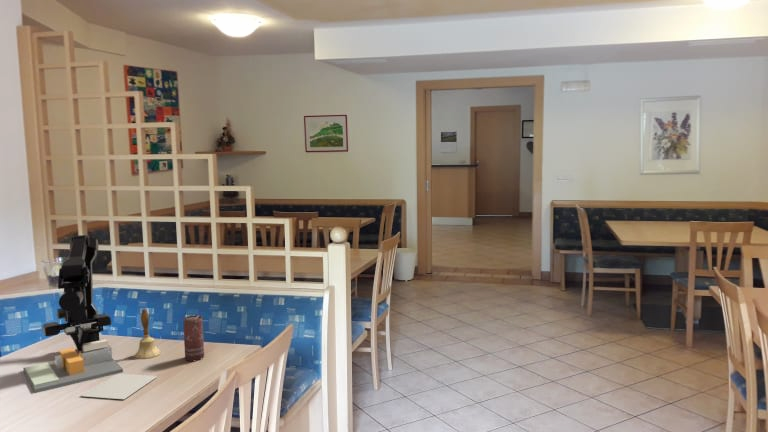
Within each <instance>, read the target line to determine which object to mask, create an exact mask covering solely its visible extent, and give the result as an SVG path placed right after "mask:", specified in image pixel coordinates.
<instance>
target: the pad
mask: <svg viewBox="0 0 768 432" xmlns="http://www.w3.org/2000/svg"><path fill="white" fill-rule="evenodd" d="M25 370H26V371H27V373H28V375H29V377H30V379H31V380H32V382H33V384H34V386H37V385H41V384H45V383H50V382H54V381H58V380H59V378H58V377H57V375H56V374H55V373H54V371H53V370H52V368H51V367H50V365H49V364H48V362H44V363H43V362H42V363H39V365H38V364H34V365H29V366H25Z"/></svg>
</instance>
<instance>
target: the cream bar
mask: <svg viewBox="0 0 768 432" xmlns="http://www.w3.org/2000/svg"><path fill="white" fill-rule="evenodd" d="M108 345H109V344H108V340H107V339H101V340H100V341H95V342H90V343H85V344H83V346H82V348H83V351H84V352H85V351H90V350H95V349H99V348H104V347H108Z"/></svg>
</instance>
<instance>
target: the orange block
mask: <svg viewBox="0 0 768 432" xmlns="http://www.w3.org/2000/svg"><path fill="white" fill-rule="evenodd" d="M59 355H61V357H62V360H63V367H64V368H65V369H66V371H67V372H68V374H69V375H74V374H79V373H83V372H84V361H83V359H82V358H81V356H80V353H78V352H77V351H76V350H75V348H74V347H72V348H67V349H63V350H62V349H61V350H59Z"/></svg>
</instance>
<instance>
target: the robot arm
mask: <svg viewBox="0 0 768 432" xmlns="http://www.w3.org/2000/svg"><path fill="white" fill-rule="evenodd" d="M69 251H70V252H69V255H68V259H66V260H64V261H63V262H62V264H61V267H60V268H59V270H58V283H57V289H58V290H60V289H61V290H62V289H63V293H62V295H61V296H60V297H59V300H58V306H59V307H60V308H57V309H56V313H57V314H56V316H57V319H58V320H62V319H63V320H64V322H65V323H60V324H59V322H57V321H51V322H47V323H46V322H45V323H43V325H41V326H42V334H44V337H53V336H58V335H59V333H60V332H61V331H63V333H64V334H65V335H66V336H70V338H71V339H72V341H73V344H74V345H75V347H76V350H77V351H78V352H79V351H82V350H83V348H82V346H83V344H85V343H90V342H95V341H100V333H101V332H104V327H106V326H111V325H112V318H111V316H109V315H108V314H107V313H99V310H98V309H97V307H96V306H95V305H94V295H93V294H94V290H93V284H94V283H93V262H94V261H95V259H96V258H97V256H98V254H97V253H98V251H99V241H98V239H97V238H95V237H92V236H89V235H87V234H83V235H80V234H79V235H78V234H77V235H74V236H71V239H69Z"/></svg>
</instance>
